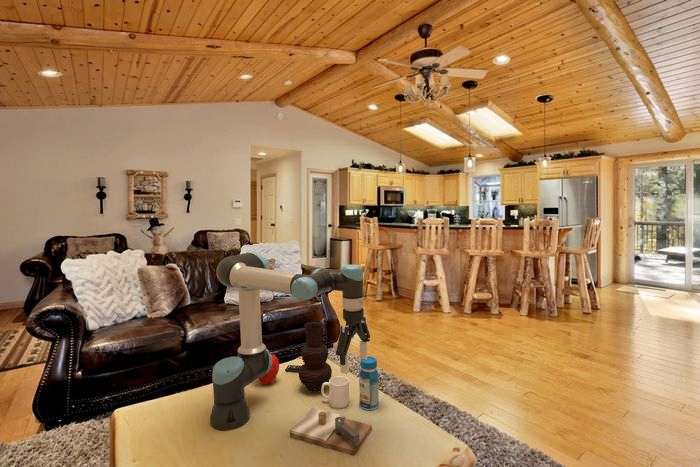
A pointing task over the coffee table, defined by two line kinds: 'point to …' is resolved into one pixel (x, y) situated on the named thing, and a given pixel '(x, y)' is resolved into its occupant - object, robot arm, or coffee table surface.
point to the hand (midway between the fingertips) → (354, 365)
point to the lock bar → (346, 430)
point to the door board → (328, 431)
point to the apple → (271, 372)
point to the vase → (314, 359)
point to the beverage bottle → (369, 384)
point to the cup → (337, 391)
